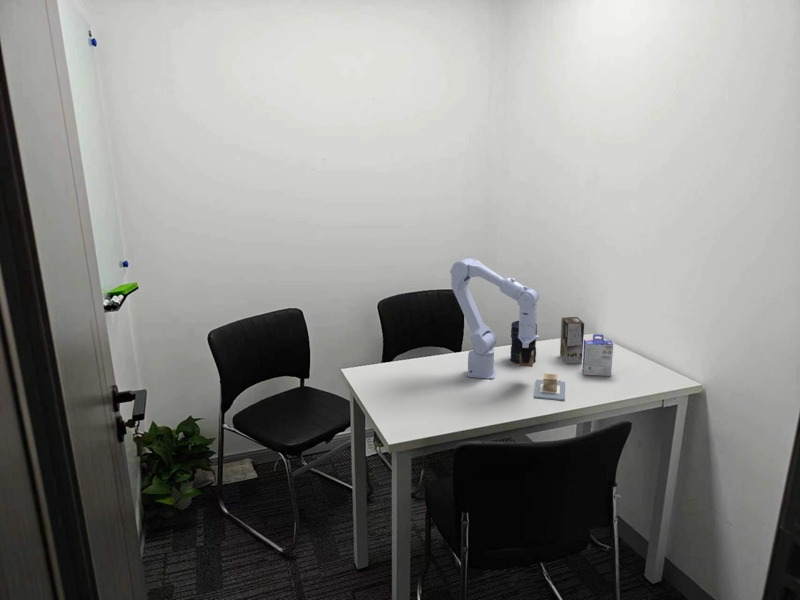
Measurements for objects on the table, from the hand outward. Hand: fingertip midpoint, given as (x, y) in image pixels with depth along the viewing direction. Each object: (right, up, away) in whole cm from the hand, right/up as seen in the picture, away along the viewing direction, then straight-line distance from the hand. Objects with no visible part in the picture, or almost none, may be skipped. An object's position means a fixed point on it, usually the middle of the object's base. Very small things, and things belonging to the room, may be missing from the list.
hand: (526, 360), depth 189 cm
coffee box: (+23, -2, +22) cm, 32 cm away
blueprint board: (+7, -10, -5) cm, 13 cm away
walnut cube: (0, -1, 0) cm, 2 cm away
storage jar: (+4, -3, +22) cm, 23 cm away
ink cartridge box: (+28, -6, +8) cm, 30 cm away
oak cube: (+7, -9, -5) cm, 13 cm away
